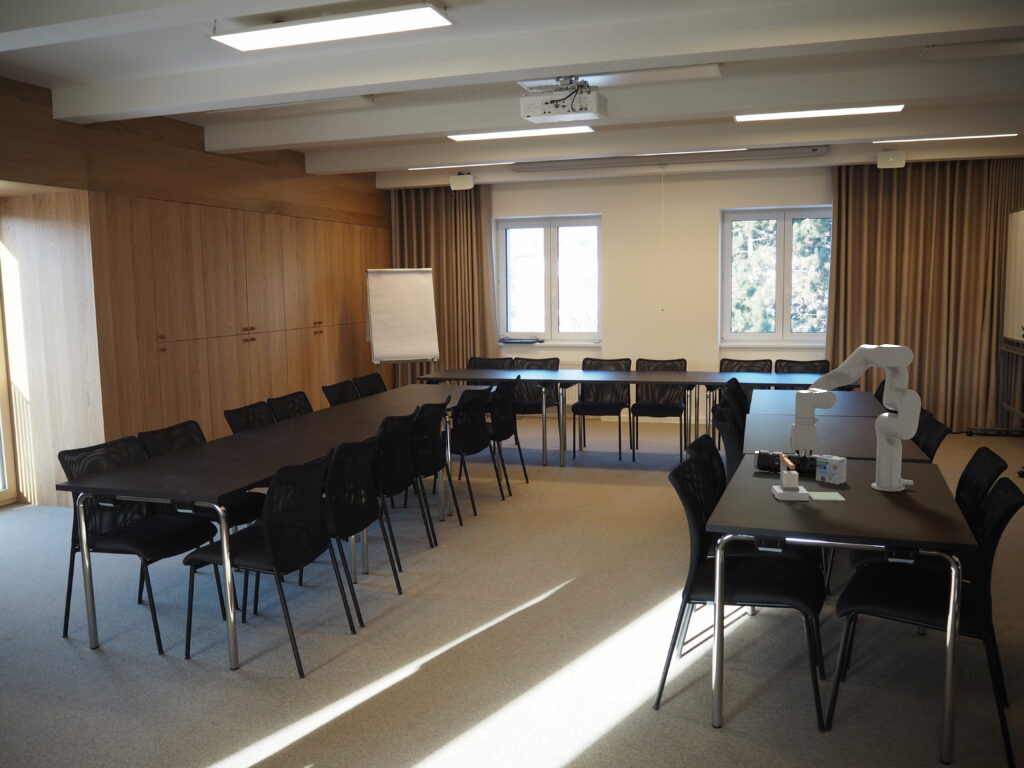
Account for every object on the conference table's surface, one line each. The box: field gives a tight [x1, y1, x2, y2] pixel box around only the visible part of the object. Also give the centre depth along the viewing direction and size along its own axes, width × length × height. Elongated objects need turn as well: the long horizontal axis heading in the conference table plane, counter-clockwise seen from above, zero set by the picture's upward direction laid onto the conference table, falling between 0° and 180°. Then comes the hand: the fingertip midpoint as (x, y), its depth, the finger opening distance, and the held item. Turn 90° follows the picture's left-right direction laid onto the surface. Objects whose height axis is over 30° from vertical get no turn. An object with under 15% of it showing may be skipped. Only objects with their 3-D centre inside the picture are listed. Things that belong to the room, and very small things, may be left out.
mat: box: [807, 491, 846, 502], centre depth 341 cm, size 12×12×1 cm
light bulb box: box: [815, 454, 847, 485], centre depth 368 cm, size 11×7×11 cm, turn 40°
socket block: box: [771, 461, 810, 501], centre depth 347 cm, size 12×22×12 cm, turn 173°
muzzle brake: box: [753, 449, 821, 478], centre depth 383 cm, size 10×28×10 cm, turn 63°
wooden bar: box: [780, 455, 795, 469], centre depth 347 cm, size 20×3×2 cm, turn 173°
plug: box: [781, 471, 799, 491], centre depth 342 cm, size 6×6×10 cm
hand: (803, 466), depth 343 cm, fingers closed
